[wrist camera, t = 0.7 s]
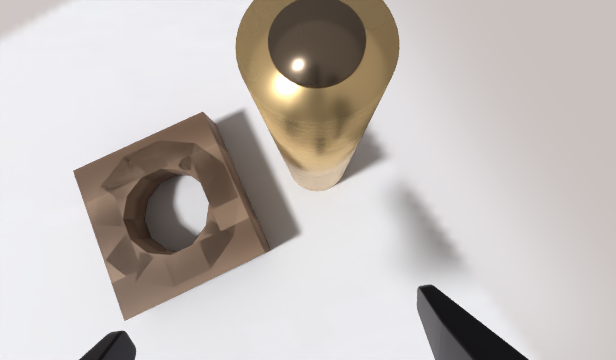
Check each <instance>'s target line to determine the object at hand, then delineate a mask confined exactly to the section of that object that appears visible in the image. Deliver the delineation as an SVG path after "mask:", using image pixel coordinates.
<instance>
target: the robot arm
mask: <svg viewBox="0 0 616 360" xmlns="http://www.w3.org/2000/svg"><path fill="white" fill-rule="evenodd" d="M417 309H418V313H419V316H420V319H421V321H422V324H423V327H424V330H425V333H426V335H427V338H428V341H429V344H430V346H431V349H432V352H433V355H434V358H435V360H529V359H527V358H526V357H525V356H523V355H522V354H521V353H520V352H518V351H517V350H516V349H514V348H513V347H512V346H511V345H509V344H508V343H507V342H505V341H504V340H503V339H502V338H500V337H499V336H498V335H496V334H495V333H494V332H492V331H491V330H490V329H489V328H487V327H486V326H485V325H483V324H482V323H481V322H480V321H478V320H477V319H476V318H474V317H473V316H472V315H471V314H469V313H468V312H467V311H465V310H464V309H463V308H462V307H460V306H459V305H458V304H456V303H455V302H454V301H453V300H451V299H450V298H449V297H447V296H446V295H445V294H444V293H442V292H441V291H440V290H438V289H437V288H436V287H435V286H433V285H423V286H419V287H418V290H417ZM135 356H136V347H135V345H134V344H133V342H132V341H131V339H130V337H129V336H128V334H127V333H126V332H125V331H117V332H111V333H109V334H107V335H106V336H105V337H104V338H103V339H102V340H101V341H99V342H98V343H97V344H96V345H95V346H94V347H93V348H92V349H91V350H89V351H88V352H87V353H86V354H85V355H84V356H83V357H82V358H81V359H79V360H135Z"/></svg>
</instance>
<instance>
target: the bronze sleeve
mask: <svg viewBox="0 0 616 360" xmlns="http://www.w3.org/2000/svg"><path fill="white" fill-rule="evenodd" d="M398 56H399V35H398V30H397V26H396V23H395V20H394V18H393V16H392V14H391V12H390V10H389V8H388V7H387V5H386V4H385V3H384V1H383V0H254V1H253V2H252V3H251V5H250V6H249V8H248V9H247V10H246V12H245V14H244V16H243V18H242V20H241V23H240V25H239V28H238V32H237V37H236V59H237V63H238V67H239V70H240V73H241V75H242V78H243V80H244V82H245V84H246V86H247V88H248V90H249V92H250V94H251V96H252V98H253V100H254V102H255V104H256V106H257V108H258V110H259V112H260V114H261V116H262V117H263V119H264V121H265V123H266V125H267V127H268V129H269V131H270V133H271V135H272V137H273V139H274V141H275V143H276V145H277V147H278V149H279V151H280V153H281V155H282V157H283V159H284V161H285V163H286V165H287V167H288V169H289V171H290V173H291V175H292V177H293V179H294V180H295V181H296V182H297V183H298V184H299V185H300V186H302V187H303V188H305V189H308V190H311V191H323V190H326V189H329V188H331V187H333V186H334V185H335V184H336V183H337V182H338V181H339V180H340V179H341V177H342V175H343V173H344V171H345V169H346V167H347V165H348V163H349V161H350V159H351V157H352V155H353V153H354V151H355V149H356V147H357V145H358V144H359V142H360V140H361V138H362V136H363V134H364V132H365V130H366V128H367V126H368V124H369V122H370V120H371V118H372V116H373V114H374V111H375V110H376V108H377V106H378V103H379V101H380V100H381V97H382V96H383V94H384V92H385V90H386V88H387V86H388V83H389V82H390V80H391V78H392V75H393V72H394V71H395V68H396V65H397V61H398Z"/></svg>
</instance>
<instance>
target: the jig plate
mask: <svg viewBox="0 0 616 360" xmlns="http://www.w3.org/2000/svg"><path fill="white" fill-rule="evenodd" d="M73 172H74V175H75V178H76V180H77V183H78V186H79V189H80V192H81V195H82V198H83V201H84V204H85V207H86V210H87V213H88V215H89V218H90V221H91V224H92V227H93V230H94V233H95V236H96V239H97V242H98V245H99V248H100V251H101V253H102V256H103V259H104V262H105V265H106V268H107V271H108V274H109V277H110V280H111V283H112V286H113V288H114V291H115V294H116V297H117V300H118V303H119V306H120V309H121V312H122V315H123V318H124V321H126V320H128V319H130V318H132V317H134V316H136V315H138V314H140V313H142V312H144V311H146V310H148V309H150V308H153V307H155V306H157V305H159V304H161V303H163V302H165V301H167V300H169V299H171V298H173V297H175V296H177V295H180V294H182V293H184V292H186V291H188V290H190V289H192V288H194V287H196V286H198V285H200V284H202V283H204V282H206V281H209V280H211V279H213V278H215V277H217V276H219V275H221V274H223V273H225V272H227V271H229V270H231V269H233V268H235V267H238V266H240V265H242V264H244V263H246V262H248V261H250V260H252V259H254V258H256V257H258V256H260V255H262V254H264V253H266V252H268V251H270V247H269V245H268V243H267V241H266V238H265V236H264V234H263V232H262V229H261V227H260V225H259V222H258V220H257V218H256V216H255V213H254V211H253V209H252V207H251V204H250V202H249V200H248V198H247V195H246V193H245V191H244V188H243V186H242V184H241V182H240V179H239V177H238V175H237V173H236V170H235V168H234V166H233V164H232V161H231V159H230V157H229V154H228V152H227V150H226V148H225V145H224V143H223V141H222V139H221V136H220V134H219V132H218V130H217V127H216V125H215V123H214V122H213V121H212V120H211V119H210V118H209V117H208V116H207V115H206V114H205V113H204V112H201V113H199V114H197V115H194V116H192V117H190V118H188V119H186V120H183V121H181V122H179V123H177V124H175V125H173V126H170V127H168V128H166V129H164V130H162V131H159V132H157V133H155V134H153V135H151V136H148V137H146V138H144V139H142V140H140V141H137V142H135V143H133V144H131V145H129V146H127V147H124V148H122V149H120V150H118V151H116V152H113V153H111V154H109V155H107V156H105V157H102V158H100V159H98V160H96V161H94V162H92V163H89V164H87V165H85V166H83V167H81V168H78V169H76V170H74V171H73ZM177 175H189V176H192V177H194V178H195V179H196V180H198V181H199V182H200V183H201V185H202V187H203V190H204V192H205V195H206V197H207V199H208V202H209V206H208V213H207V221H206V226H205V227H204V229H203V230H202V232H201V233H200V234H199V236H198V237H197V238H196V240H195V241H194V243H193V244H192V245H191V246H189V247H186V248H184V249H182V250H180V251H172V250H166V249H165V248H163V247H162V246H161V245H160V244H158V243H157V242H156V241H154V240H153V239H152V238H151V236H150V234H149V231H148V228H147V225H146V223H145V220H144V218H145V212H146V206H147V200H148V198H149V197H150V196H151V194H152V193H153V192H154V191H155V189H156V188H157V187H158V185H159V184H160V183H162V182H164V181H166V180H168V179H170V178H172V177H175V176H177Z"/></svg>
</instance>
